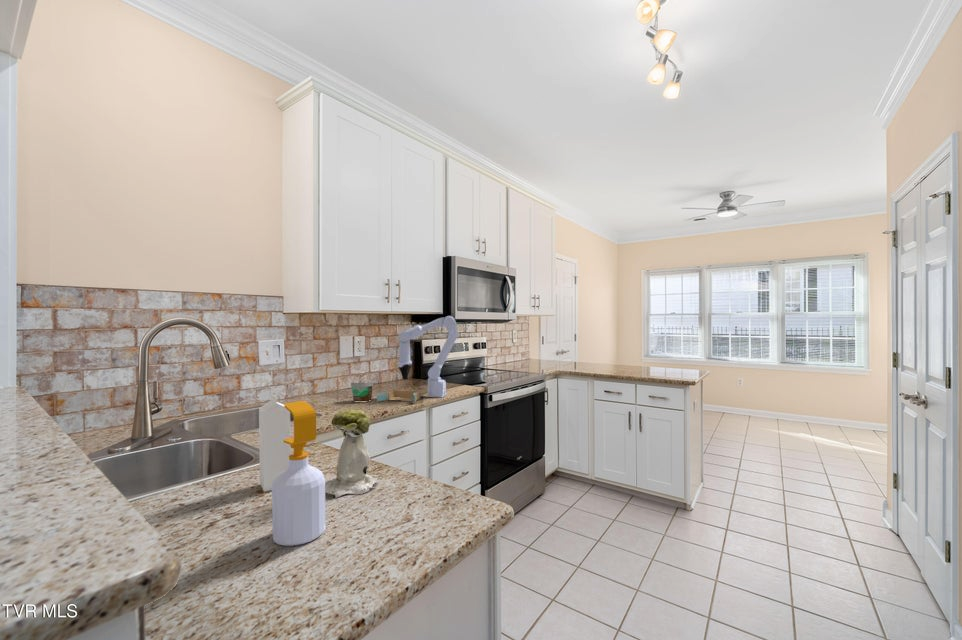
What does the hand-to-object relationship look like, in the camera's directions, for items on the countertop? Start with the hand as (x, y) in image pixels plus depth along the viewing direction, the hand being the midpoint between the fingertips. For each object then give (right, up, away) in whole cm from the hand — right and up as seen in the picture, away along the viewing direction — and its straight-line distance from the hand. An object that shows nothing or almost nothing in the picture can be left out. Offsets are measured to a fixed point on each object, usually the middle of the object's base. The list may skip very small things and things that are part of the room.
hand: (405, 379), depth 219 cm
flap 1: (-9, -9, -14) cm, 18 cm away
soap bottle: (+7, -9, -142) cm, 143 cm away
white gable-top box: (-10, -9, -118) cm, 119 cm away
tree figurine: (+9, -9, -120) cm, 121 cm away
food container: (-21, -10, -12) cm, 26 cm away
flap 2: (+8, -8, -17) cm, 20 cm away
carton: (+1, -9, -8) cm, 12 cm away
